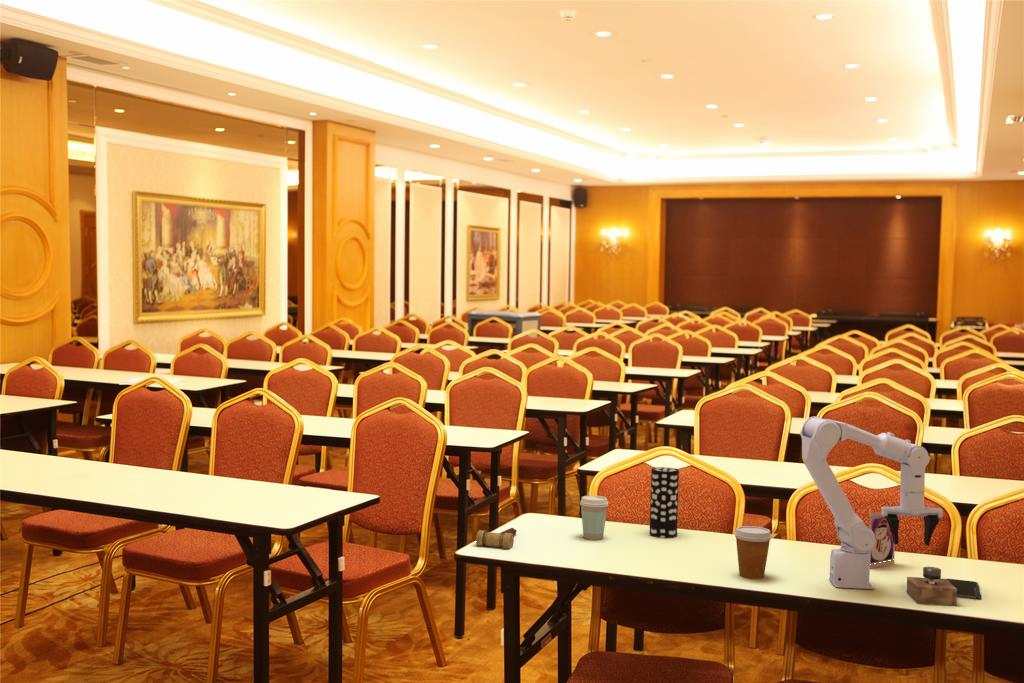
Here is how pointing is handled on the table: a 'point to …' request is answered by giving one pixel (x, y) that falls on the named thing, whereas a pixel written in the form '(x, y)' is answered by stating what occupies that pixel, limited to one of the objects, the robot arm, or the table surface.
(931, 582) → the dark round knob
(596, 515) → the coffee cup
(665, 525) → the white-spotted black cylinder
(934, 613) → the table surface
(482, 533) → the gavel
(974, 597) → the phone
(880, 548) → the greeting card
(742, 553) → the disposable coffee cup
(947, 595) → the box
